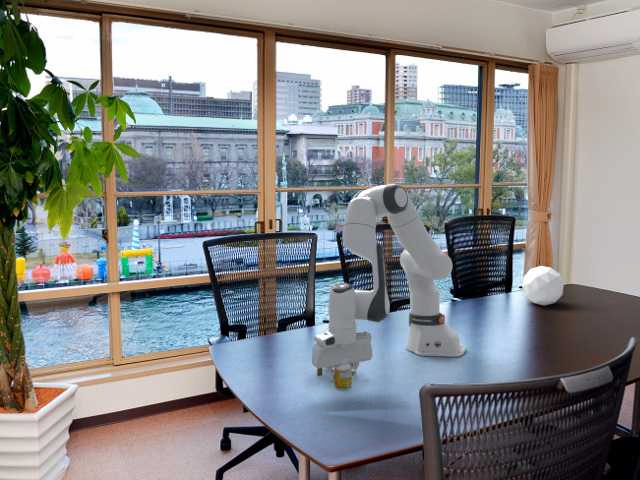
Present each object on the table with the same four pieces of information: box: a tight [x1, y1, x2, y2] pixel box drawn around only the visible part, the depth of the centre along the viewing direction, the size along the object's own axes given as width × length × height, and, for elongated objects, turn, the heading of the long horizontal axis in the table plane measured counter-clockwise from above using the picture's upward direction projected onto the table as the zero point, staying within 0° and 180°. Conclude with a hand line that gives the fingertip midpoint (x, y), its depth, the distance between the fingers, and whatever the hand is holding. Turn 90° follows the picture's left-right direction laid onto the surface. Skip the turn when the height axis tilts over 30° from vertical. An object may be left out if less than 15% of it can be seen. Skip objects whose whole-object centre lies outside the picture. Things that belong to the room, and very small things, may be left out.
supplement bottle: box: [333, 358, 353, 392], centre depth 195 cm, size 6×6×10 cm
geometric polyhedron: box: [522, 265, 565, 307], centre depth 303 cm, size 19×20×20 cm
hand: (342, 376), depth 195 cm, fingers closed on supplement bottle, 6 cm apart
